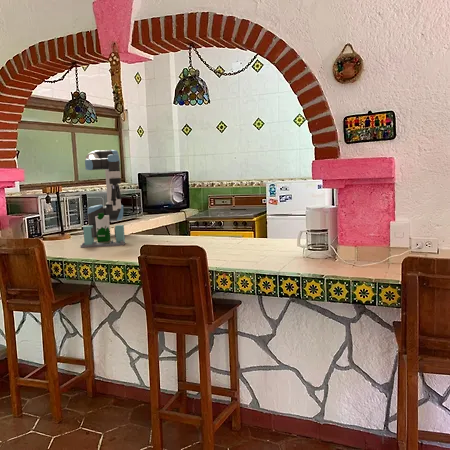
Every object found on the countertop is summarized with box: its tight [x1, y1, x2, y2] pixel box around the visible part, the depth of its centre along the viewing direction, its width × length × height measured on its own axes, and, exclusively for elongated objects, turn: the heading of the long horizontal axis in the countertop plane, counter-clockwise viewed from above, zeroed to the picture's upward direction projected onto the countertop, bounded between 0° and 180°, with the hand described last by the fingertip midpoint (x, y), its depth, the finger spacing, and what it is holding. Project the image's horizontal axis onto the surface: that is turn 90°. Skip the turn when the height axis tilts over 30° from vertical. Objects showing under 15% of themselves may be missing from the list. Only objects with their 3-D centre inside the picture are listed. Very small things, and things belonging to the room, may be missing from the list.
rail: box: [80, 239, 126, 249], centre depth 318 cm, size 7×28×3 cm, turn 92°
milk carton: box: [95, 213, 112, 243], centre depth 338 cm, size 9×9×20 cm
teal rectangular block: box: [82, 225, 95, 245], centre depth 317 cm, size 5×6×12 cm
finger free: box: [114, 224, 126, 243], centre depth 326 cm, size 5×6×12 cm
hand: (117, 209), depth 323 cm, fingers open, 13 cm apart
